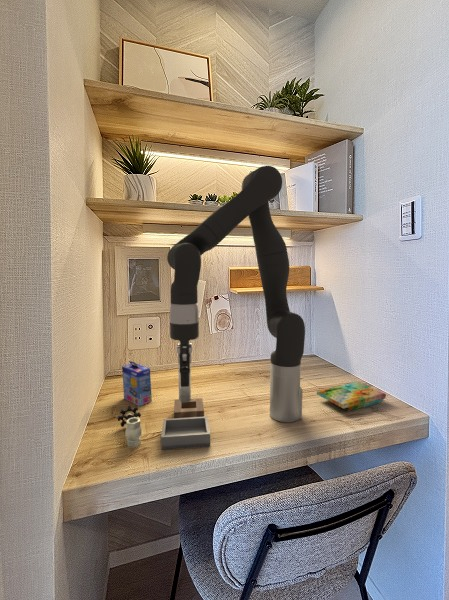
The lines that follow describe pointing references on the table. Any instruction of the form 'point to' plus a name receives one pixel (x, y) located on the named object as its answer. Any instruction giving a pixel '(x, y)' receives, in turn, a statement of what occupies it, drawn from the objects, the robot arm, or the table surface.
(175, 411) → the pin block
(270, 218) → the robot arm
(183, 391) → the pin
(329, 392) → the puzzle game
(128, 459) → the table surface
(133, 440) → the valve
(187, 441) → the tray
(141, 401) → the ink cartridge box
